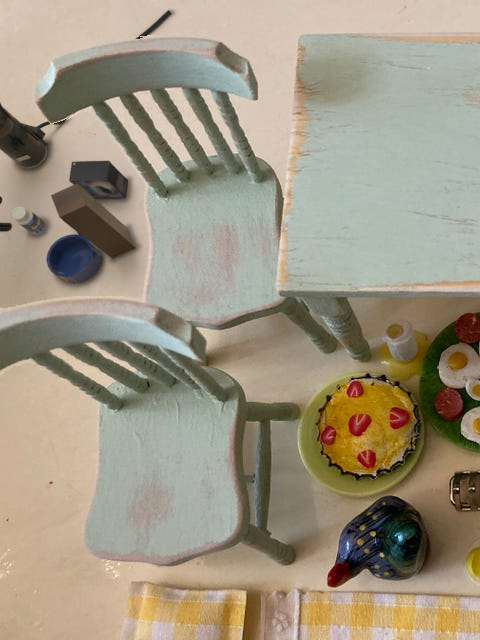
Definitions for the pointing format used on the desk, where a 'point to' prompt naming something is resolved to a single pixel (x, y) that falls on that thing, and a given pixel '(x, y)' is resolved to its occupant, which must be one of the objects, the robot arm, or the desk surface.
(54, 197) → the brown rectangular block
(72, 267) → the bowl
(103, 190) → the small box
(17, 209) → the pill bottle
